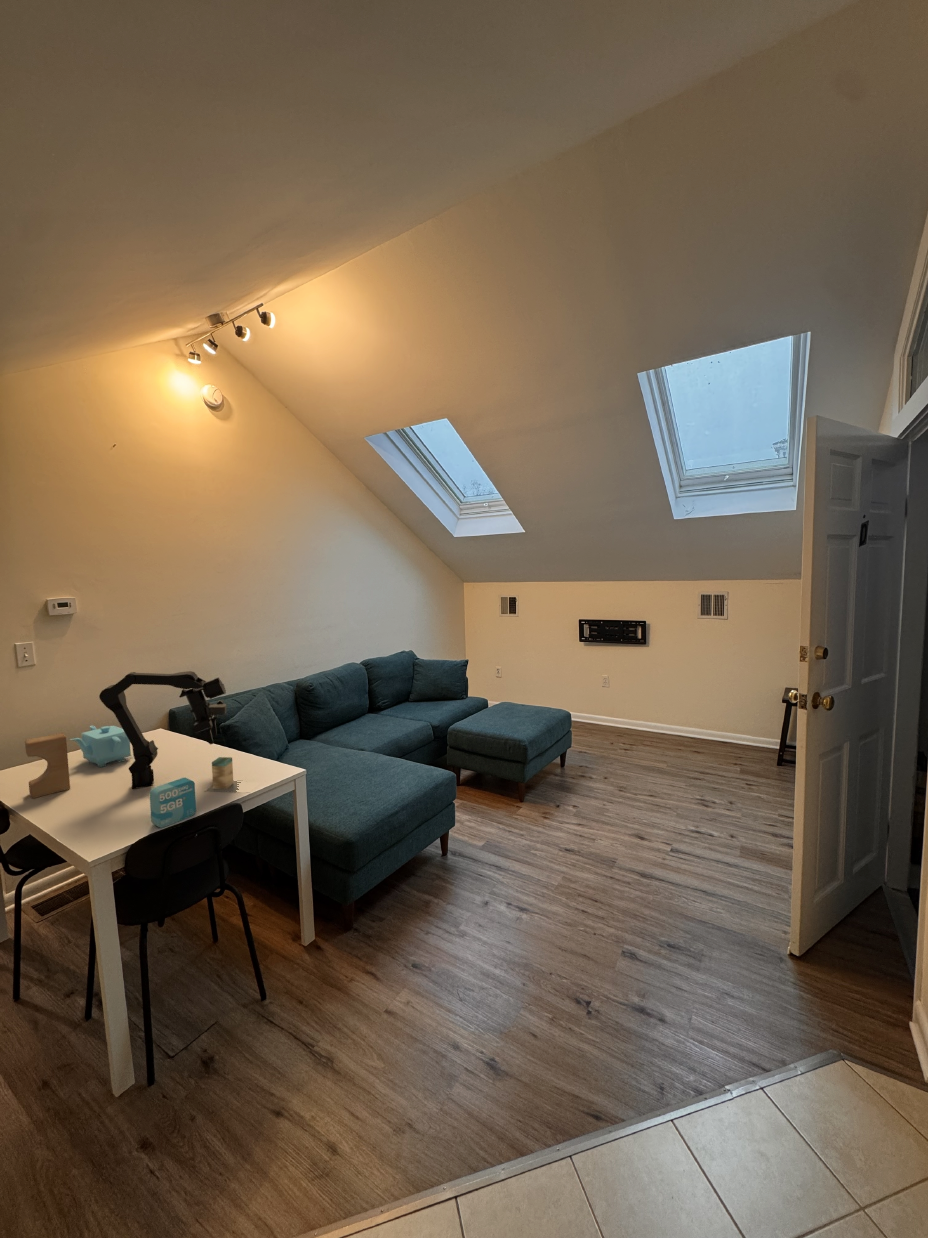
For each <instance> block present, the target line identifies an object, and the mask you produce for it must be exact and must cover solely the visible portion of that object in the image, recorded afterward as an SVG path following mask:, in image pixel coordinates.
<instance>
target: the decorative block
mask: <svg viewBox="0 0 928 1238" xmlns="http://www.w3.org/2000/svg"><path fill="white" fill-rule="evenodd" d="M24 746H25V747H24V748H25V753H26V755H27V757H28V758H29V757H30V758H31V757H32V758H33V757H37V758H40V759H43V760H44V761H46V763H47V765H46V768H45V770H44V771H43V773H42V774H40V775H39V776H37V778H34V779H32V780H29V781H28V791H29V795H30V798H31V799H36V798H40V797H44V796H48V795H51V794H56V793H60V792H64V791H68V790H70V789H71V784H70V781H71V780H70V770H69V769H70V768H69V757H68V756H69V755H68V745H67V736H66V735H65V734H64V733H63V732H62V733H56V734H51V735H46V736H40V737H35V738H29V739H25V740H24Z"/></svg>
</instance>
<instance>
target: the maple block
mask: <svg viewBox="0 0 928 1238" xmlns="http://www.w3.org/2000/svg"><path fill="white" fill-rule="evenodd" d="M233 771H234V769H233V757H231V756H229V757H225V756H224V757H223V756H218V757H217V758H216V759H215V760H212V761H211V774H212V776H211V777H212V785H213V789H227V788H228V787H229V786H231V785H232V784H233V780H234V772H233Z"/></svg>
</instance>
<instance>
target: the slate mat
mask: <svg viewBox="0 0 928 1238" xmlns="http://www.w3.org/2000/svg"><path fill="white" fill-rule="evenodd" d="M234 780H235V779H233V784H232V785H231V786H229V787H228V788H227V789H213V784H212V785H210V786H209V787H207V788H206V789H205V790H204V791H203V792H204V793H206V792H208V793H234V794H235V793H236V792H237V791H236V790H239V789H238V788H237V787H239V786H237V785H239V784H237V783H241V782H237V781H238V780H237V781H234Z"/></svg>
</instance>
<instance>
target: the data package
mask: <svg viewBox="0 0 928 1238" xmlns="http://www.w3.org/2000/svg"><path fill="white" fill-rule="evenodd" d="M149 804H150V805H149V806H150V819H151V823H152V824H153V825H155V826H157V827H158V828H161V829H162V828H165V827H168V826H170V825H172V824H176V823H177V822H180V821H183V820H186V819H188V818H190V817H192V816H194V815H195V814H196V812H197V801H196V784H195V782H194V781H193V780H191V779H189V778H188V777H181V778H179V779H176V780H172V781H170V782H169V781H168V782H167V783H163V784H160V785H157V786H155V787H153V788H151V790H150V791H149Z"/></svg>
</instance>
